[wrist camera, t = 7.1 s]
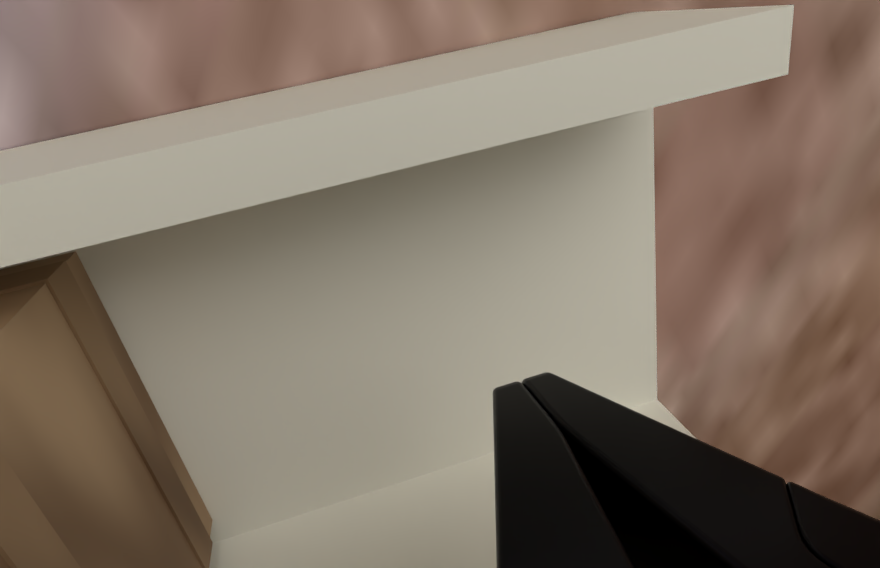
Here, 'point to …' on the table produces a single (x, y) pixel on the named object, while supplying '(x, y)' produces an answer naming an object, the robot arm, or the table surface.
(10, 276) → the crate
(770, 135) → the table surface
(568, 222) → the bay
